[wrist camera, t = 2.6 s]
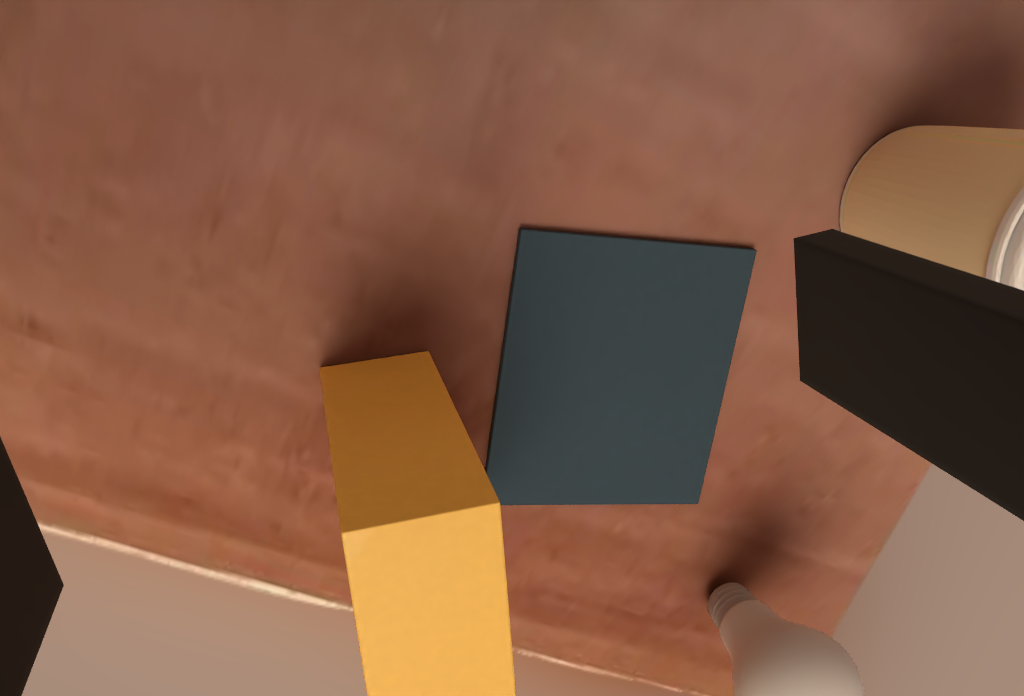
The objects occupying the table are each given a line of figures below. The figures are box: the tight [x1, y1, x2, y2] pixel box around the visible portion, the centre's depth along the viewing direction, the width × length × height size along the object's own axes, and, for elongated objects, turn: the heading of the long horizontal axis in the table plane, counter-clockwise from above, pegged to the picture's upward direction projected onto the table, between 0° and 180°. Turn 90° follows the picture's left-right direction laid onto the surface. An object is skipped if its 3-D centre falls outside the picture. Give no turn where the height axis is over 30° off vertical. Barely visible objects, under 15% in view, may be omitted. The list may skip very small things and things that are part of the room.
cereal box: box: [320, 351, 516, 696], centre depth 35 cm, size 5×9×14 cm, turn 4°
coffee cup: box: [839, 125, 1024, 290], centre depth 38 cm, size 9×9×12 cm
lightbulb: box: [707, 583, 864, 696], centre depth 45 cm, size 6×6×11 cm
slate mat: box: [485, 228, 756, 505], centre depth 43 cm, size 12×14×1 cm
